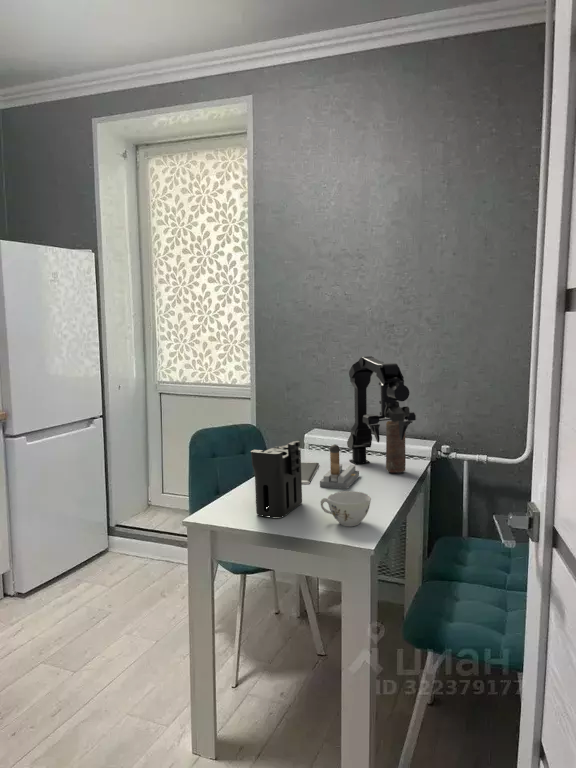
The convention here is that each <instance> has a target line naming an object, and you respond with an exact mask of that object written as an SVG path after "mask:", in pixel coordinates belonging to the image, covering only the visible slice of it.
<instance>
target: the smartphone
mask: <svg viewBox="0 0 576 768" xmlns="http://www.w3.org/2000/svg"><path fill="white" fill-rule="evenodd" d="M319 466H320V463H319V462H311V461H310V462H307V461H306V462H305V461H304V462H303V461H301V480H302V485H310V484H309V483H311V482H312V480H313V477H314V476H315V474H316V472H317V470H318V469H319ZM310 481H311V482H310Z"/></svg>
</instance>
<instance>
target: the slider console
mask: <svg viewBox="0 0 576 768" xmlns="http://www.w3.org/2000/svg"><path fill="white" fill-rule="evenodd" d="M339 464H340V463H339ZM359 477H360V470H356V464H350V465H348V467H347V468H346V469H343V464H340V475H339V476H338V481H337V482H334V481H331V469H330V470H329V471H327V472H326V473H325V474H324V475H323V477H322V479H320V481H319V488H329V489H331V488H332V489H342V490H343V489H344V490H348V489H349V487H350V486H351V485H353V484H354V482H355V481H356V480H357V479H358V478H359Z"/></svg>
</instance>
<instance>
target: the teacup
mask: <svg viewBox="0 0 576 768" xmlns="http://www.w3.org/2000/svg"><path fill="white" fill-rule="evenodd" d="M371 500H372V498H371V496H370V495H368V494H367V493H364V492H362V491H354V490H351V491H347V490H346V491H344V490H343V491H338V492H334V494H329V495H328V496H327V497H326V498H325V497H324V498H322V499H321V500H320V507H321V509H322V511H324V513H325V514H329V515H332V516H333V518H334V519H335V520H336V521H337V522H338V523H339V524H340V525H341V526H344V527H355V526H358V525H360V524H361V522H362V521H363V520H364V519H365V517H366V516H367V515H368V512H369V510H370V506H371V502H372V501H371ZM324 503H327V505H328V509H329V510H328V509H326V508H325V507H324Z"/></svg>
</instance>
